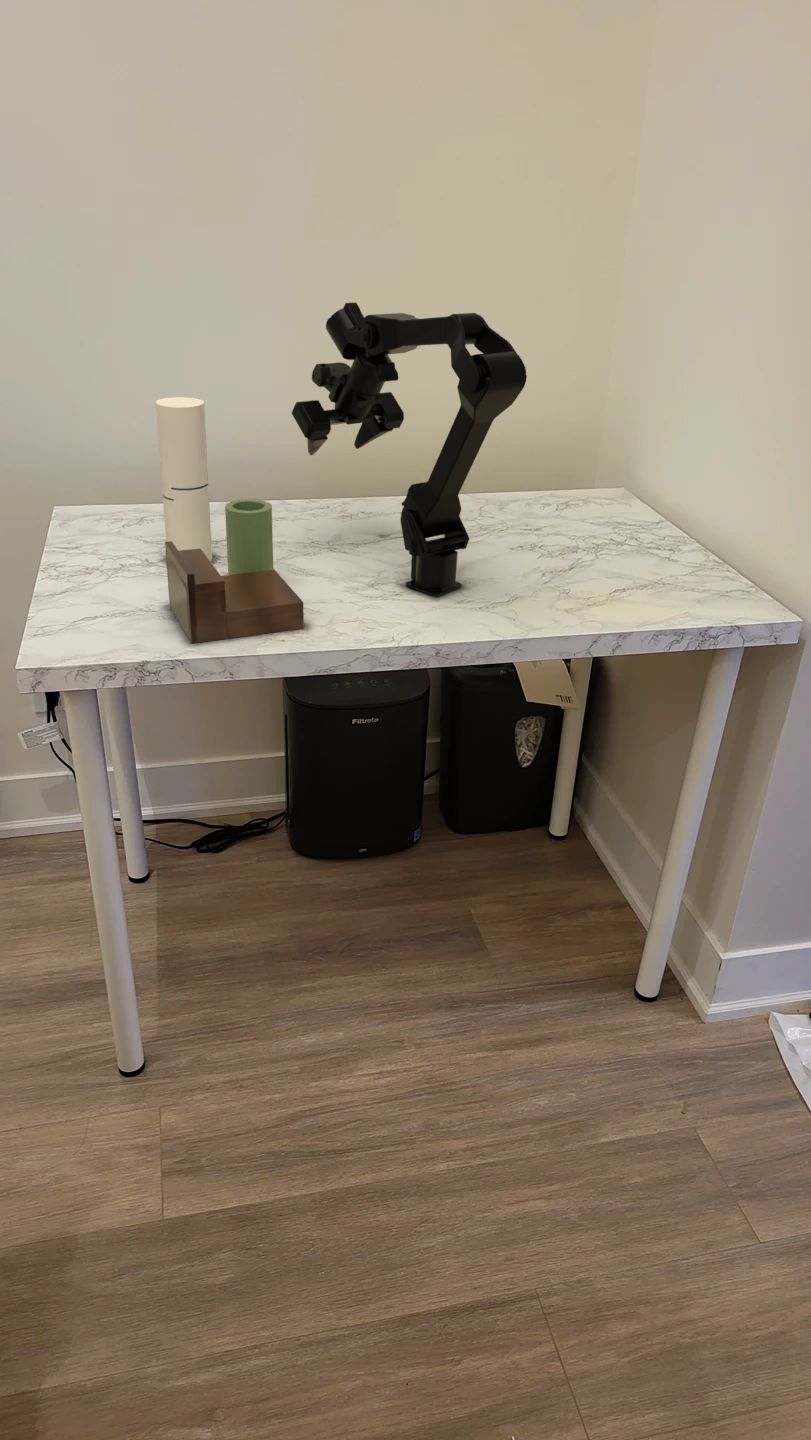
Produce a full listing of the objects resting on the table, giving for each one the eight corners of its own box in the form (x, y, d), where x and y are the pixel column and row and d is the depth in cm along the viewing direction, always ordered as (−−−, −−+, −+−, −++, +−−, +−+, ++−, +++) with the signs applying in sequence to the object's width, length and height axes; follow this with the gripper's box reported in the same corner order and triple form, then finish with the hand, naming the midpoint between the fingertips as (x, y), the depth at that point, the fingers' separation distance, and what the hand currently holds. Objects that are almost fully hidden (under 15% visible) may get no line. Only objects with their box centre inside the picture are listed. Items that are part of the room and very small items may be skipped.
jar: (282, 585, 160) (281, 506, 154) (249, 596, 155) (246, 515, 149) (253, 573, 164) (250, 496, 158) (219, 584, 159) (215, 505, 153)
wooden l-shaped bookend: (275, 594, 156) (273, 530, 151) (303, 628, 146) (303, 561, 141) (169, 607, 150) (164, 541, 146) (191, 643, 140) (186, 574, 135)
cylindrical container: (202, 569, 164) (193, 409, 152) (160, 564, 165) (147, 405, 153) (218, 554, 170) (211, 399, 158) (177, 549, 171) (167, 395, 159)
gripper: (389, 340, 170) (358, 408, 182) (291, 348, 160) (264, 419, 172) (421, 391, 166) (386, 457, 179) (322, 402, 156) (293, 471, 169)
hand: (333, 449), depth 175 cm, fingers open, 9 cm apart
